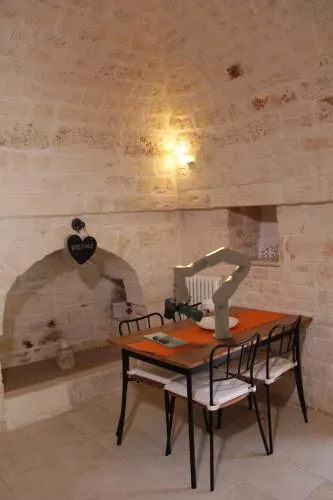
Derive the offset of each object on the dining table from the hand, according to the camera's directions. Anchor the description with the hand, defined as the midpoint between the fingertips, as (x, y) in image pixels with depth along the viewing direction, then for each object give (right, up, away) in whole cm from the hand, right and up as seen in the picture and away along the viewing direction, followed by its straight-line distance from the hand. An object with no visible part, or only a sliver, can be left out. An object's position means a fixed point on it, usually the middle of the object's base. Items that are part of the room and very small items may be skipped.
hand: (182, 310), depth 321 cm
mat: (-11, -19, -6) cm, 23 cm away
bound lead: (-14, -19, -10) cm, 25 cm away
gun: (+1, -7, 0) cm, 7 cm away
